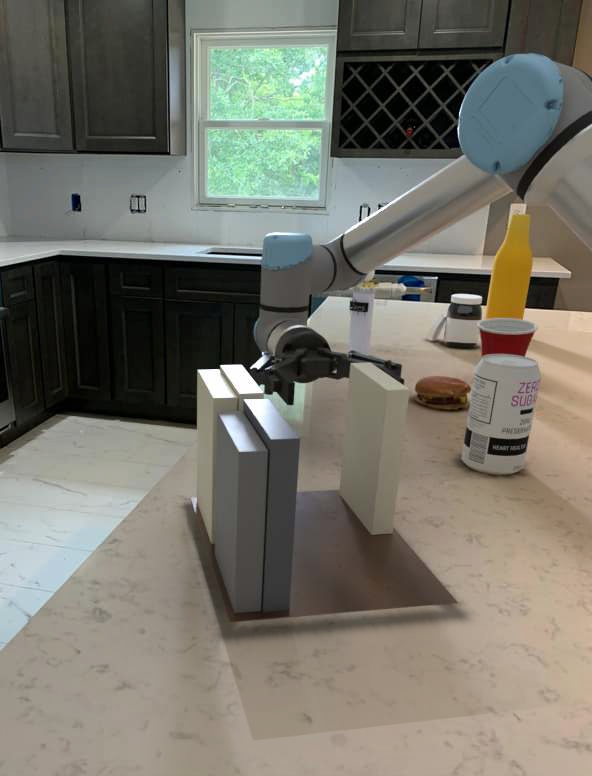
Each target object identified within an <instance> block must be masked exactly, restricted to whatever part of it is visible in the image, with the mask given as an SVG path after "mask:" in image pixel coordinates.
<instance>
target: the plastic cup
mask: <svg viewBox="0 0 592 776" xmlns="http://www.w3.org/2000/svg"><path fill="white" fill-rule="evenodd" d="M477 326H478V328H479V330H480V332H479V339H480V356H481V357H480V359H481V360H482V357H483V356H485V355H489V354H511V355H519V356H524V357H526V354H527V353H528V352H527V351H528V349H529V346H530V344H531V341H532V339H533V337H534V335H535V333H536V331H537V330H538V329H539V325H538V324H537V323H534V322H532V321H530V320H525V319H523V320H521V319H511V318H494V319H486V320H484V319H481V321H480V322H478V323H477ZM481 360H480V361H481Z"/></svg>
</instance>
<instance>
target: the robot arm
mask: <svg viewBox="0 0 592 776" xmlns="http://www.w3.org/2000/svg"><path fill="white" fill-rule="evenodd" d="M457 138H458V142H459V145H460V148H461V151H462V153H463V154H462V155H461V156H459V157H458V158H456V159H455V160H453V161H452V162H450V163H449V164H446V166H444V167H443V168H441V169H440V170H438V171H437V172H434V173H433V174H432V175H430V176H429V177H427V178H426V179H424V180H423V181H421V182H420V183H419V184H417V185H415V186H413V187H412V188H410V189H409V190H408V191H406V192H404V193H403V194H401V195H400V196H398V197H397V198H395V199H394V200H392V201H390V202H389V203H387V204H386V205H384V206H383V207H381V208H379V209H378V210H377V211H375V212H374V213H372V214H371V215H369V216H368V217H366V218H364V219H362V220H361V221H360V222H358V223H357V224H355V225H353V226H352V227H351V228H349V229H348V230H346V231H345V232H343V233H342V234H340V235H338V236H337V237H335V238H334V239H332V240H331V241H329V242H326V243H318V244H313V238H312V236H311V235H310V234H307V233H301V232H272V233H268V234H267V235H265V236H264V238H263V241H262V251H261V252H262V253H261V259H260V266H261V269H260V301H259V302H260V305H259V317H258V318H257V319H256V322H255V323H254V326H253V338H254V342H255V344H256V346H257V348H258V349H259V351H260V353H261V357H260V358H259V359H258V360H257V361H255V363H253V364H252V365H251V367H249V375H250V376H251V377H252V379H253V380H254V381H255V382H256V384H257V385H258V386H259V387H261V386H263V387H264V388H263V392H264V395H267V396H273V395H274V393H276V394H277V395H278V396H279V397H280V399H281V400H282V401H283V402H284V403H285V405H287V406H294V405H295V391H296V389H295V388H296V383H297V384H308V383H309V384H310V383H313V382H315V381H317V380H319V379H325V378H328V379H333V380H338V381H339V380H341V379H344V378H345V379H349V375H350V364H351V363H372V364H373V365H375V366H376V367H378V368H379V369H381V370H382V371H384V372H385V373H386V374H388V375H389V376H391V377H392V378H394V379H395V380H397V381H398V382H400V383H401V384H403V385H404V386H405V379H404V378H402V370H403V364H401V363H398V362H393V361H392V360H391V359H387V360H386V359H382V358H379V357H375V356H371V355H369V356H367V355H364V354H361V353H359V352H357V351H354V350H351V351H349V352H348V351H347V354H346V353H344V352H339V351H335V350H334V351H333V350H332V349H331V346H330V344H329V343H328V341H327V340H326V338H325V337H324V336H322V335H321V334H320V333H319V332H318V331H316V330H315V329H313V328H312V327H310V326H309V325H308V319H309V318H308V317H309V307H310V295H315V294H316V295H317V294H322V293H328V292H330V293H331V292H337V291H346V290H349V289H352V288H356V286H358V285H359V284H361V283H362V282H363V281H364V280H365V279H366V277H367V275H368V274H369V273H370V272H372V271H374V270H375V271H376V270H377V269H379V268H380V267H382V266H384V265H386V264H387V263H389V262H391V261H393V260H395V259H396V258H398V257H400V256H401V255H403V254H405V253H406V252H409V251H410V250H412V249H414V248H416V247H417V246H419V245H421V244H422V243H424V242H426V241H428V240H430V239H431V238H433V237H435V236H437V235H438V234H440V233H442V232H443V231H445V230H448V229H449V228H450V227H452V226H454V225H456V224H457V223H459V222H461V221H462V220H465V219H466V218H468V217H470V216H471V215H474V214H475V213H477V212H479V211H480V210H483V209H484V208H486V207H487V206H489V205H491V204H492V203H494V202H496V201H497V200H500V199H501V198H503V197H505V196H506V195H508V194H510V193H511V192H514V193H515V194H516V195H517V197H519V199H520V200H521V201H522V202H523V203H524V204H525V205H526V206H527V207H549V208H550V209H551V210H552V211H553V212H554V213H555V214H556V216H557V217H558V218H560V220H561V221H562V222H563V223H564V224H565V225H566V226H567V227H568V228H569V229H570V231H572V232H573V234H574V235H576V236H577V238H578V239H579V240H580V241H581V242H582V243H583V244H584V246H586V247H587V248H588V249H589V250H590V251H591V252H592V74H590V73H589V72H587V71H585V70H583V69H581V68H579V67H576V66H575V67H574V66H570V65H566V64H563V63H560V62H557V61H554V60H552V59H551V58H549V57H548V56H545V55H543V54H539V53H534V52H533V53H532V52H530V53H516V54H511V55H508V56H504V57H502V58H500V59H498V60H496V61H494V62H493V63H491V64H490V65H489V66H487V67H486V68H485V69H483V70H482V72H481V73H480V74H479V75H477V77H476V78H475V79H474V81H473V82H472V83H471V85H470V86H469V88H468V90H467V92H466V94H465V96H464V98H463V100H462V102H461V106H460V109H459V114H458V126H457Z"/></svg>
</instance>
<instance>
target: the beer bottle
mask: <svg viewBox="0 0 592 776" xmlns="http://www.w3.org/2000/svg"><path fill="white" fill-rule="evenodd" d="M530 227H531V214H525V213H512V214H511V216H510V219H509V223H508V227H507V231H506V234H505V237H504V240H503V242H502V244H501V246H500V247H499V249H498V250H497V252H496V254H495V256H494V258H493V263H492V269H491V275H490V282H489V288H488V295H487V301H486V309H485V314H484V319H483V320H486V319H494V318H511V319H521V320H524V315H525V310H526V303H527V297H528V292H529V286H530V280H531V277H532V276H531V275H532V270H533V265H534V264H533V263H534V261H533V252H532V249H531V246H530Z"/></svg>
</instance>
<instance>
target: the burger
mask: <svg viewBox="0 0 592 776" xmlns="http://www.w3.org/2000/svg"><path fill="white" fill-rule="evenodd" d="M414 392H415V393H416V395H415V398H414V400H415V402H416V403H418V404H420V405H423V406H426V407H429V408H432V409H435V410H448V411H450V410H453V411H457V410H459V409H462V410H466V409H469V407H470V403H469V401H468V394H469V393H471V392H472V387H471V385H470V384H469V383H467V381H464V380H462V379H459V378H456V377H452V376H443V375H430V376H424V377H422V378H420V379H419V380H418V381H417V382H416V384H415V386H414Z"/></svg>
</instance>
